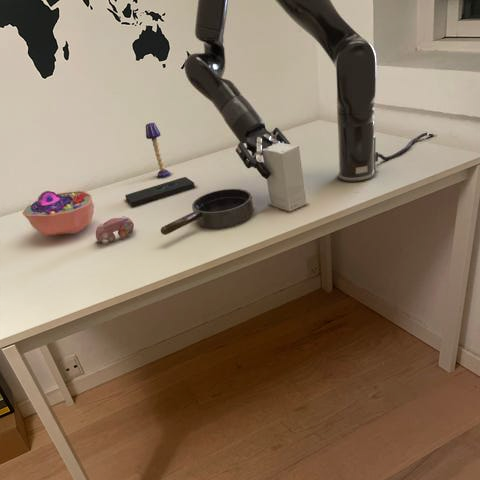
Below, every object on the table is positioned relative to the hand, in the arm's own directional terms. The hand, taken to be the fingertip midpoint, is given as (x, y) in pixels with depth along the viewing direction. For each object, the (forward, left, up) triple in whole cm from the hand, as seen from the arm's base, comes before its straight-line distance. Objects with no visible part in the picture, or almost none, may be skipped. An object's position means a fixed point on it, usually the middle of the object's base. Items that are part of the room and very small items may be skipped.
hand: (280, 170), depth 119 cm
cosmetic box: (0, +1, -9) cm, 9 cm away
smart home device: (+11, -41, -9) cm, 43 cm away
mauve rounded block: (+36, -25, -9) cm, 45 cm away
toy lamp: (0, -55, -9) cm, 56 cm away
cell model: (+41, -43, -9) cm, 60 cm away
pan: (+13, -9, -9) cm, 18 cm away
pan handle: (+26, -9, -6) cm, 28 cm away
